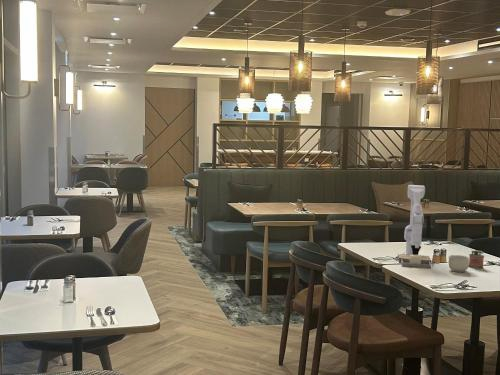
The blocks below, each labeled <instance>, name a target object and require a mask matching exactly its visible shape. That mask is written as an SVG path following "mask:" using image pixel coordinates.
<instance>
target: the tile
mask: <svg viewBox="0 0 500 375" xmlns="http://www.w3.org/2000/svg"><path fill="white" fill-rule="evenodd" d="M421 256H422V255H421V254H418V255H411V254H410V263H415V264H421Z"/></svg>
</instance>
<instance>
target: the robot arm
mask: <svg viewBox="0 0 500 375" xmlns="http://www.w3.org/2000/svg"><path fill="white" fill-rule="evenodd" d="M407 185H408V186H407V198H408V199H410V217H409V218H410V219H409V224H408V225H407V226H406V227H405V228H404V235H403V236H404V240H405V241H406V243H405V251H404V254H407V255H410V254H411V255H419V253H420V250H421V249H422V247H421V246H422V238H423V237H422V234H423V225H424V222H425V221H424V220H425V217H424V213H423V206H422V205H421V199H423V198H424V197H425V194H426V187H425V185H423V184H422V185H417V184H416V185H415V184H407Z"/></svg>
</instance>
